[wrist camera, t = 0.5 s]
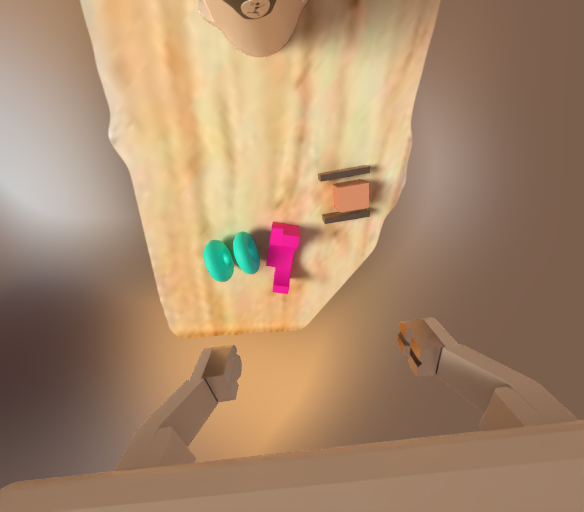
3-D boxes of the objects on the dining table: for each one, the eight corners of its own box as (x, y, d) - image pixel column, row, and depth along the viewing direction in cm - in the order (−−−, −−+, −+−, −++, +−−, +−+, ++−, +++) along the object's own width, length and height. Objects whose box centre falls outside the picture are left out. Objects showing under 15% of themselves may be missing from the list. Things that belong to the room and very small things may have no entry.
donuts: (263, 259, 54) (258, 280, 45) (227, 269, 55) (216, 291, 46) (249, 224, 50) (241, 240, 41) (211, 235, 51) (195, 253, 42)
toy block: (272, 221, 50) (270, 232, 43) (298, 226, 51) (300, 237, 44) (265, 274, 56) (262, 290, 50) (287, 277, 57) (287, 293, 50)
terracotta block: (332, 184, 46) (338, 188, 41) (359, 179, 46) (368, 182, 41) (334, 206, 49) (340, 212, 43) (359, 201, 48) (369, 207, 43)
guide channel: (317, 173, 45) (320, 175, 42) (363, 165, 45) (369, 166, 42) (322, 219, 50) (325, 223, 47) (364, 212, 49) (369, 216, 46)
